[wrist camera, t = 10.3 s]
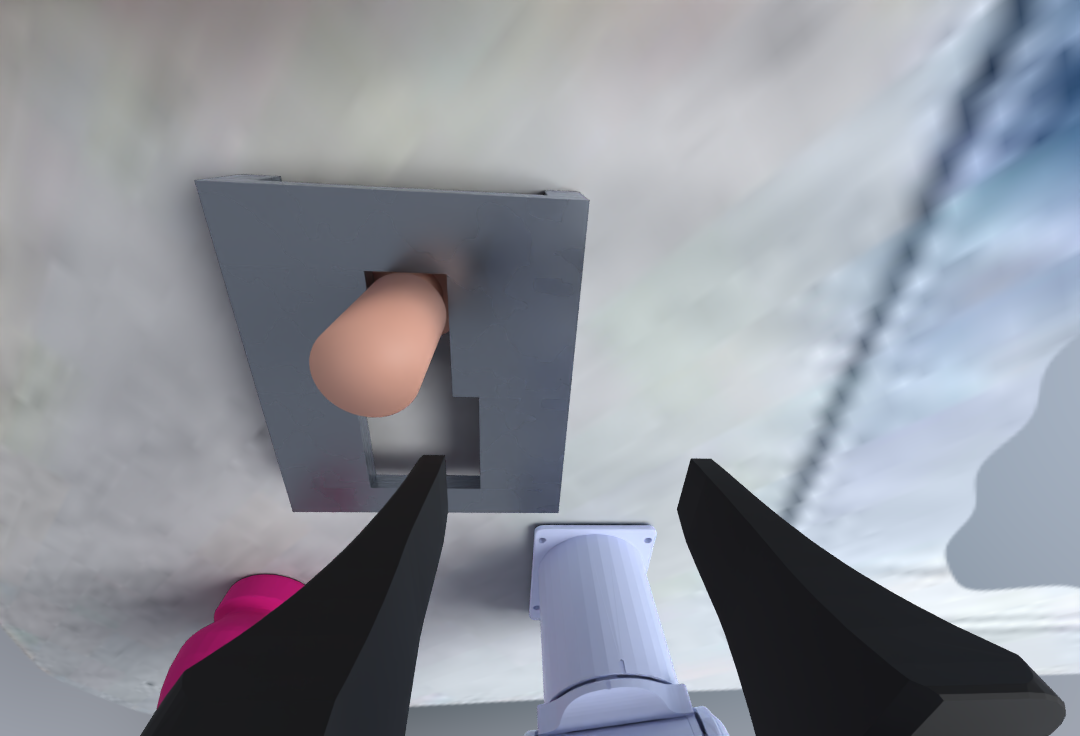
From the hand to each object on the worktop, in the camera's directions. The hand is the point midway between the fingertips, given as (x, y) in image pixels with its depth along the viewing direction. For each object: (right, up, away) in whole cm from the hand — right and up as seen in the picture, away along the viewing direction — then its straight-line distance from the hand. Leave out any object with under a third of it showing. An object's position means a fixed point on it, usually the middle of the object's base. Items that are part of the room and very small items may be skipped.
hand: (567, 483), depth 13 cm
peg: (-6, +7, +8) cm, 12 cm away
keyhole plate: (-7, +4, +9) cm, 12 cm away
